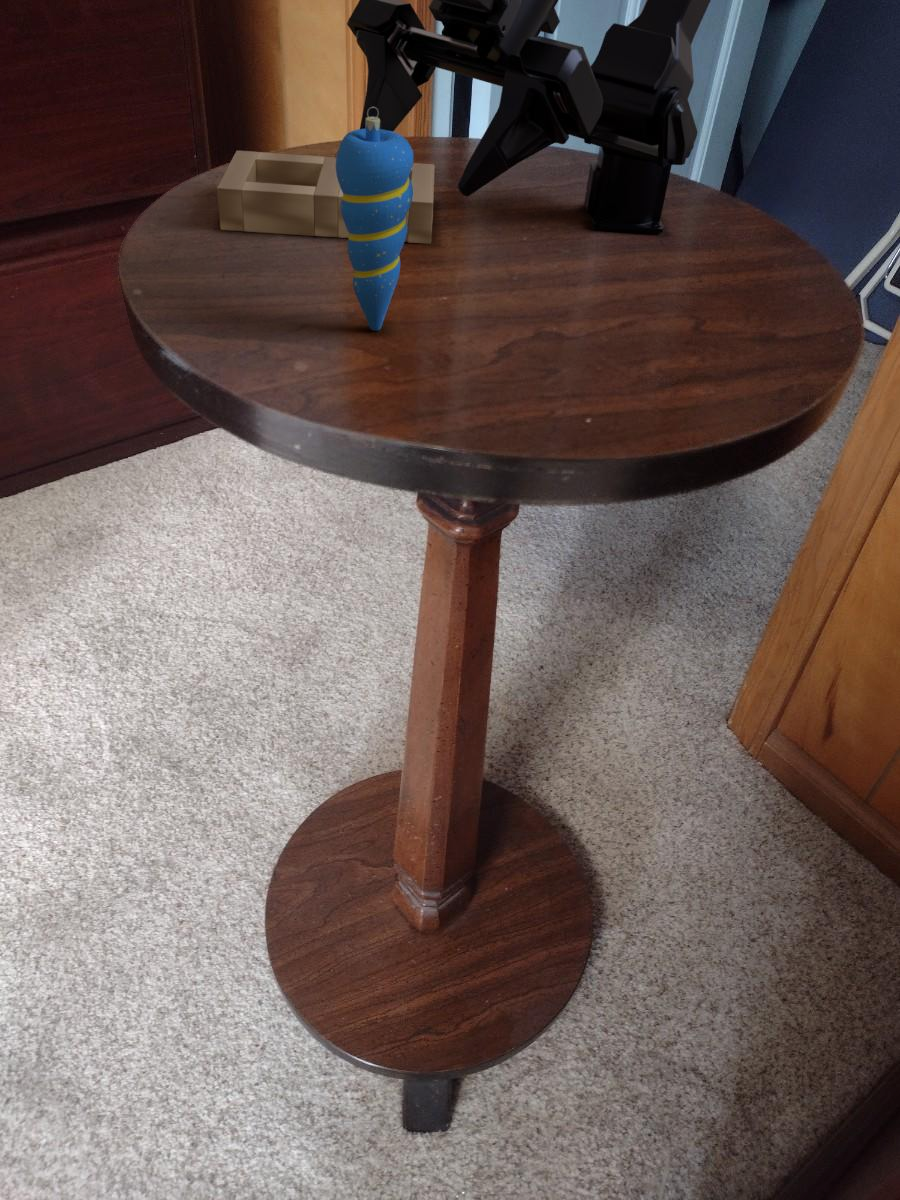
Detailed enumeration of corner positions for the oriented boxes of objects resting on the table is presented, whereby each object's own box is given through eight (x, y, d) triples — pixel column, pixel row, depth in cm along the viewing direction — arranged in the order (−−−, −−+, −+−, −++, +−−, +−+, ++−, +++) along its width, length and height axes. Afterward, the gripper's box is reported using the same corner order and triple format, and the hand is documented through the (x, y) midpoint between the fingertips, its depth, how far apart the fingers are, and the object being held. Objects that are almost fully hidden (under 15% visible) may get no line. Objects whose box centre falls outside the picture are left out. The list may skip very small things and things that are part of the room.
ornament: (418, 342, 70) (429, 117, 60) (349, 350, 68) (349, 120, 58) (394, 311, 73) (401, 94, 63) (328, 318, 71) (325, 96, 62)
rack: (432, 203, 91) (434, 164, 89) (430, 244, 83) (433, 202, 81) (239, 189, 90) (236, 150, 88) (220, 230, 83) (216, 187, 80)
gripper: (368, -153, 62) (247, 61, 63) (612, -114, 54) (470, 133, 54) (439, -19, 72) (334, 165, 73) (654, 31, 64) (534, 238, 64)
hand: (409, 173), depth 66 cm, fingers open, 9 cm apart
